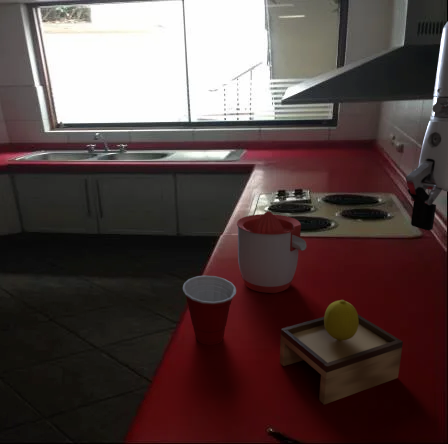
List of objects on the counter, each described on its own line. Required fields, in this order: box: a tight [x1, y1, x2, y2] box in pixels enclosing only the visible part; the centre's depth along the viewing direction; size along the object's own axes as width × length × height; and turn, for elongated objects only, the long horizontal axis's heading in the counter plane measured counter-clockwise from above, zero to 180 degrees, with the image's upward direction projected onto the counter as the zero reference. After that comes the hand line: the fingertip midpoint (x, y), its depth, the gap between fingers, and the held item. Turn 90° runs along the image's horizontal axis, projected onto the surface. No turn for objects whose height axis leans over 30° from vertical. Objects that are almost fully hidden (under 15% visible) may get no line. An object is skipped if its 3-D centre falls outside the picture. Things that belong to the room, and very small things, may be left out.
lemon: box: [323, 299, 359, 341], centre depth 73 cm, size 6×6×8 cm
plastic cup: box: [182, 275, 237, 346], centre depth 86 cm, size 11×11×12 cm
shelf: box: [279, 314, 404, 405], centre depth 75 cm, size 16×12×7 cm
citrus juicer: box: [236, 210, 307, 294], centre depth 106 cm, size 16×17×20 cm
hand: (444, 222), depth 65 cm, fingers open, 9 cm apart
